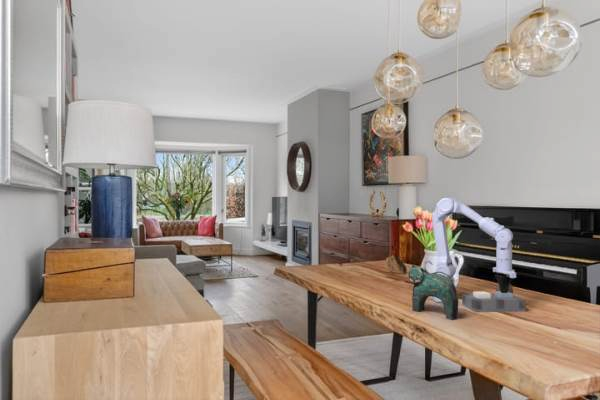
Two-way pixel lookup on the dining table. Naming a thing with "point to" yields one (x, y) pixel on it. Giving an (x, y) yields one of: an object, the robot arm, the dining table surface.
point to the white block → (481, 295)
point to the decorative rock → (395, 265)
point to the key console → (494, 303)
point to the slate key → (503, 294)
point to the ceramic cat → (433, 290)
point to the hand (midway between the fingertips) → (503, 292)
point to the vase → (508, 289)
